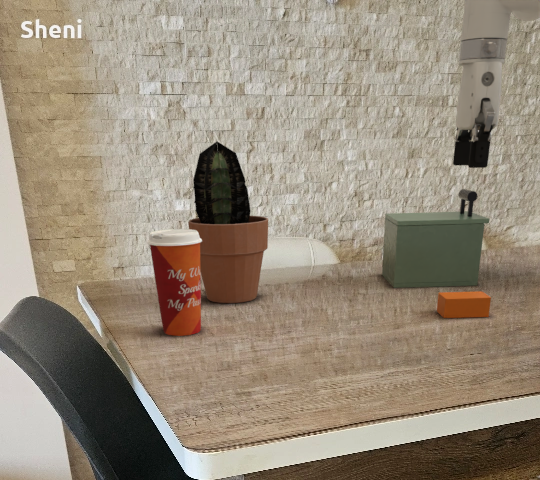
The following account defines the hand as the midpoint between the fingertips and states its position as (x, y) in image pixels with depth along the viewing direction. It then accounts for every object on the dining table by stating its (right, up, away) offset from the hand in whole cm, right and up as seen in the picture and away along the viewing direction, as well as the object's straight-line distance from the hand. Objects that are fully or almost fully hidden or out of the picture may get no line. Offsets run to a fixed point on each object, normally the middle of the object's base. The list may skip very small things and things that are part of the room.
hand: (469, 166), depth 120 cm
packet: (-6, -30, -15) cm, 35 cm away
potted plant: (-43, -24, -1) cm, 49 cm away
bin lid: (-5, -8, +4) cm, 11 cm away
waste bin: (-5, -18, +9) cm, 21 cm away
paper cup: (-49, -34, -20) cm, 63 cm away
